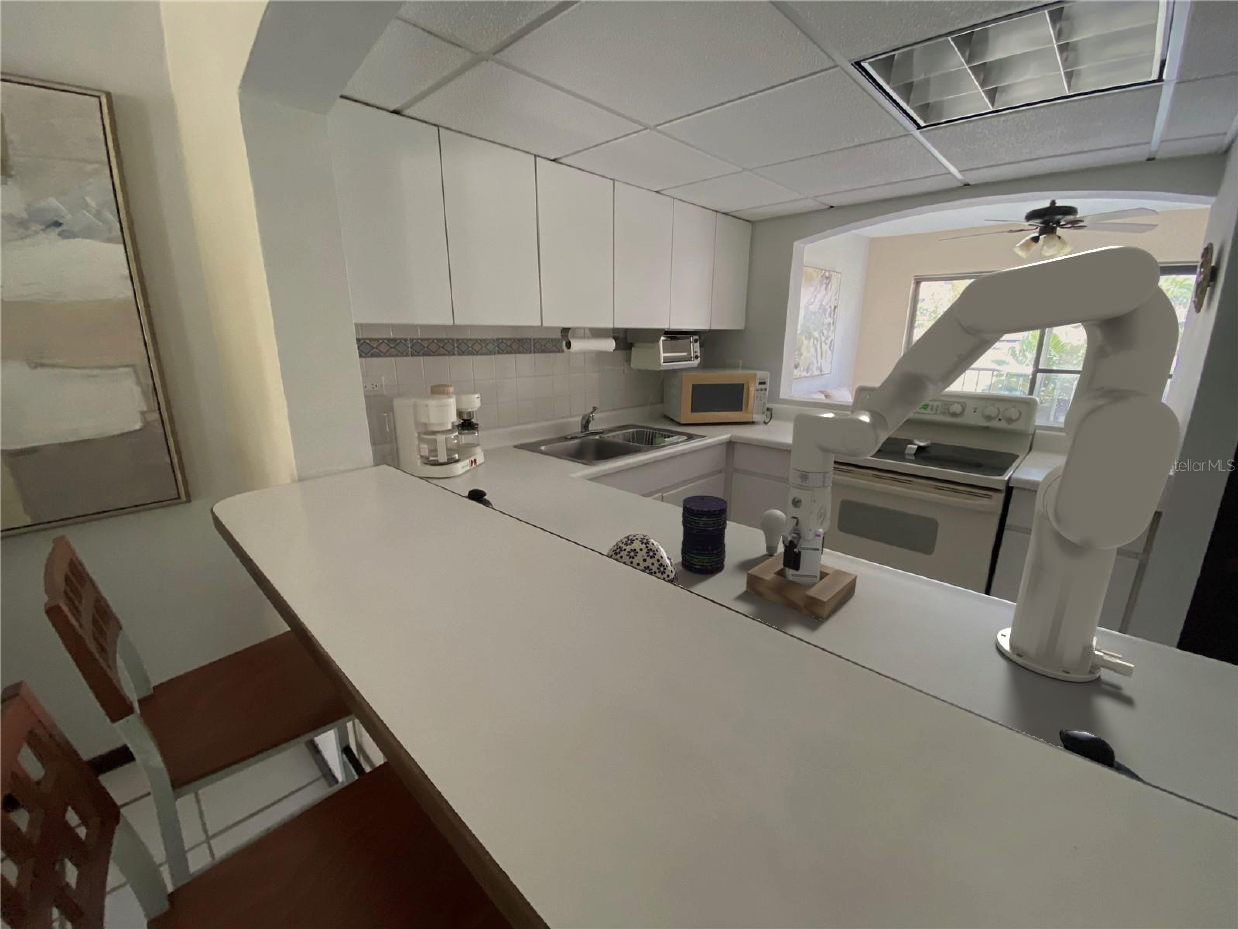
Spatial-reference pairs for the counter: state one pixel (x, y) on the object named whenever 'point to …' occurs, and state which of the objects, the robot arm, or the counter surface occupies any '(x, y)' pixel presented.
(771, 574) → the holder block
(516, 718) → the counter surface
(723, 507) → the storage jar
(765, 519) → the lightbulb
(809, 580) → the syrup box
